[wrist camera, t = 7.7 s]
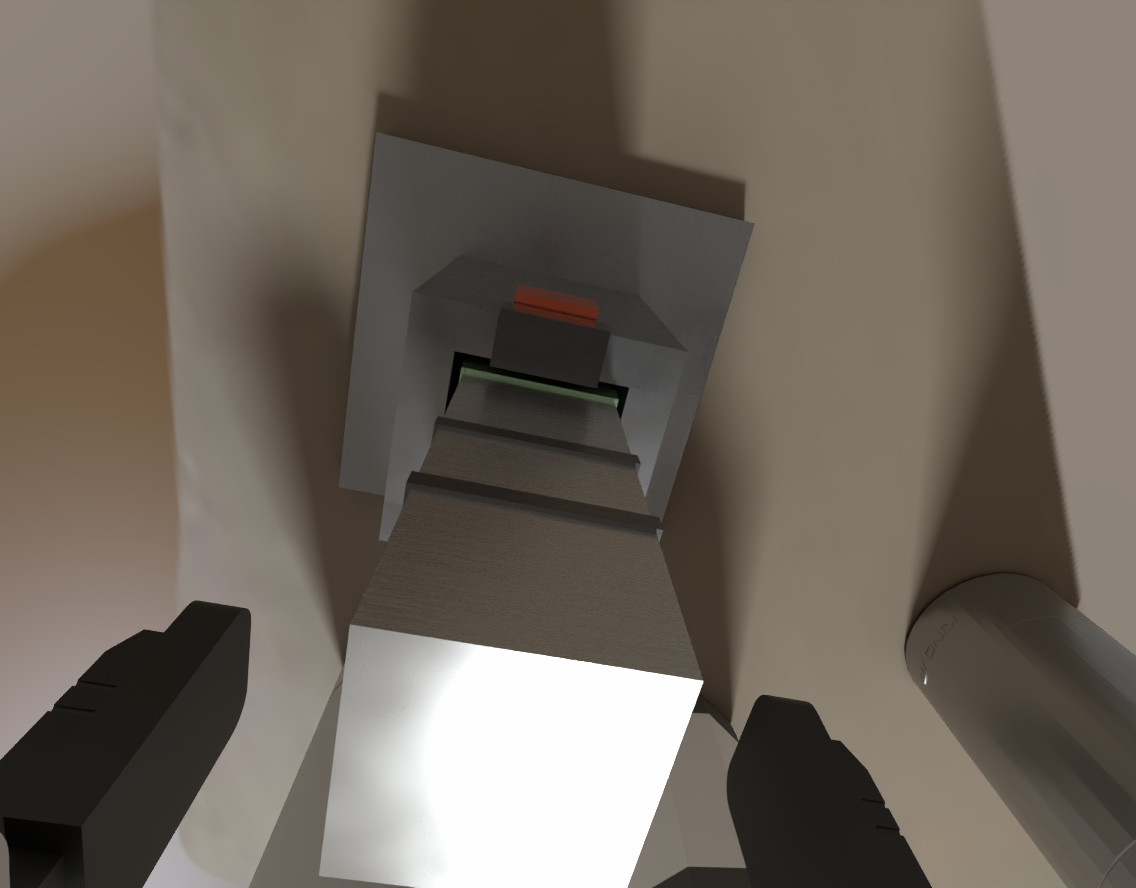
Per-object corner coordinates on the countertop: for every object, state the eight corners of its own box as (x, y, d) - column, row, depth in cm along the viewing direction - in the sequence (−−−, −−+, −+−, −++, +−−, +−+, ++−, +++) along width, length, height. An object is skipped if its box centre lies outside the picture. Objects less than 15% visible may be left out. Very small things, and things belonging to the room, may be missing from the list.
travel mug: (338, 623, 36) (118, 1082, 18) (457, 633, 37) (365, 1090, 18) (338, 710, 38) (143, 1199, 20) (450, 718, 39) (363, 1204, 20)
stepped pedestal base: (744, 221, 29) (889, 245, 17) (650, 530, 35) (707, 718, 22) (384, 134, 27) (252, 90, 15) (347, 474, 33) (228, 644, 21)
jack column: (601, 348, 25) (713, 676, 8) (574, 456, 26) (622, 916, 10) (482, 322, 24) (342, 616, 8) (462, 435, 26) (311, 879, 9)
